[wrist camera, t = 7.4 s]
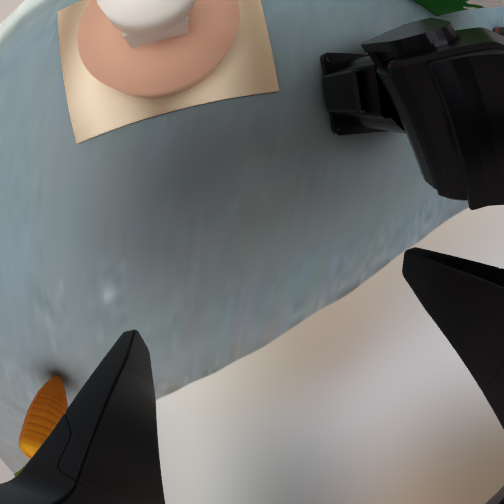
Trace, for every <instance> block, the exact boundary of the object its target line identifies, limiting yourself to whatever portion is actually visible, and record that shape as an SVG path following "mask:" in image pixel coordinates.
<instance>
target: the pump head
mask: <svg viewBox="0 0 504 504" xmlns="http://www.w3.org/2000/svg"><path fill="white" fill-rule="evenodd" d="M97 3H98V5H99V7H100V8H101V9H102V11H103V12H104V13H105V15H106V16H107V17H108V19H109V20H110V21H111V23H112V24H113V25H114V26H115V27H116V28H117V29H118V30H120V31H122V32H124V33H127V34H130V35H138V36H145V35H152V34H157V33H160V32H163V31H165V30H168V29H170V28H172V27H174V26H175V25H177V24H178V23H180V22H181V21H182V20H183V19H184V18H185V17H186V16H187V15H188V14H189V13H190V11H191V10H192V8H193V6H194V4H195V0H97Z"/></svg>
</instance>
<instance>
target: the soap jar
mask: <svg viewBox="0 0 504 504" xmlns="http://www.w3.org/2000/svg"><path fill="white" fill-rule="evenodd" d="M239 23H240V9H239V3H238V0H195V4H194V6H193V8H192V10H191V11H190V13H189V14H188V15H187V16H186V17H185V18H184V19H183V20H182V21H181V22H180V23H178V24H177V25H175V26H174V27H172V28H170V29H168V30H165V31H163V32H160V33H157V34H152V35H145V36H138V35H130V34H127V33H124V32H122V31H120V30H118V29H117V28H116V27H115V26H114V25H113V24H112V23H111V21H110V20H109V19H108V17H107V16H106V15H105V13H104V12H103V11H102V9H101V8H100V7H99V5H98V3H97V0H92V1H91V2H90V3H89V5H88V6H87V8H86V10H85V12H84V14H83V16H82V18H81V21H80V25H79V28H78V36H77V44H78V51H79V55H80V58H81V60H82V62H83V64H84V66H85V67H86V69H87V70H88V71H89V72H90V74H91V75H92V76H93V77H95V78H96V79H97V80H98V81H100V82H101V83H103V84H105V85H107V86H109V87H111V88H113V89H115V90H117V91H120V92H122V93H124V94H127V95H130V96H133V97H138V98H147V99H155V98H164V97H169V96H173V95H176V94H180V93H182V92H184V91H187V90H189V89H191V88H193V87H194V86H196V85H198V84H199V83H201V82H202V81H203V80H205V79H206V78H207V77H208V76H209V75H210V74H212V72H213V71H214V70H215V69H216V68H217V67H218V65H219V64H220V62H221V61H222V59H223V58H224V56H225V55H226V53H227V52H228V50H229V49H230V47H231V45H232V43H233V41H234V40H235V37H236V34H237V32H238V28H239Z"/></svg>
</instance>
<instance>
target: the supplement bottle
mask: <svg viewBox="0 0 504 504" xmlns="http://www.w3.org/2000/svg"><path fill="white" fill-rule="evenodd" d="M494 32H495V33H497V34H499V35H501V36H503V37H504V27H497V28H495V30H494Z"/></svg>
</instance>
